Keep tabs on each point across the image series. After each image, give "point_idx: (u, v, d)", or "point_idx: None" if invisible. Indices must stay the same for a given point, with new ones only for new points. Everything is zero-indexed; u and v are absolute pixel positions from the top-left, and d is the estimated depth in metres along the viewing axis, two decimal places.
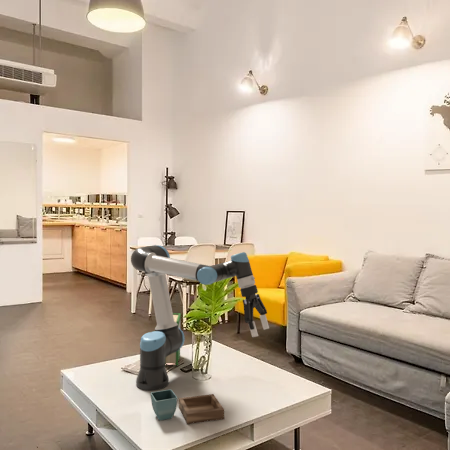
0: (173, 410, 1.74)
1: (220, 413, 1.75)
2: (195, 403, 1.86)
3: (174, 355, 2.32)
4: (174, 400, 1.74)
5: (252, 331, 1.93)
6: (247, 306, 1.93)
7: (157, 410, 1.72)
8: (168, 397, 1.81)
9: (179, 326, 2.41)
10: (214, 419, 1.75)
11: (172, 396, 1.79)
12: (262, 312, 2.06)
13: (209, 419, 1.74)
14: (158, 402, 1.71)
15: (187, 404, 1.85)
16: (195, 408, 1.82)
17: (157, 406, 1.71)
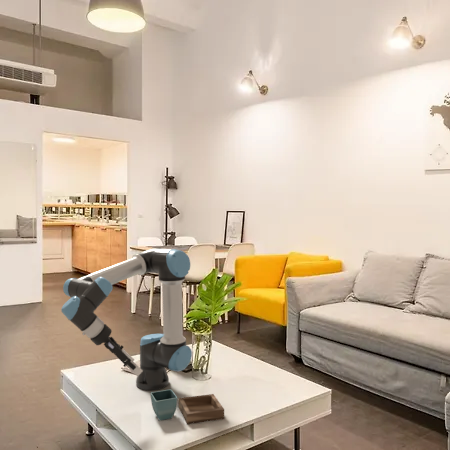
0: (173, 410, 1.74)
1: (220, 413, 1.75)
2: (195, 403, 1.86)
3: None
4: (174, 400, 1.74)
5: None
6: None
7: (157, 410, 1.72)
8: (168, 397, 1.81)
9: None
10: (214, 419, 1.75)
11: (172, 396, 1.79)
12: None
13: (209, 419, 1.74)
14: (158, 402, 1.71)
15: (187, 404, 1.85)
16: (195, 408, 1.82)
17: (157, 406, 1.71)
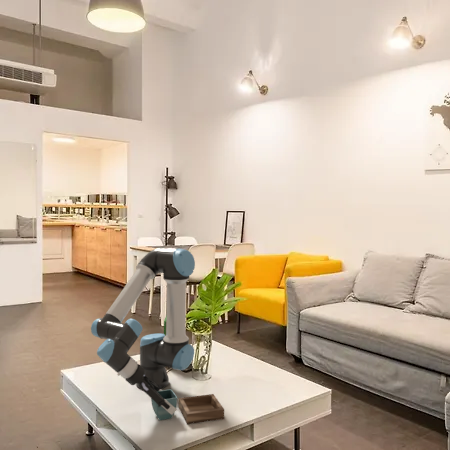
0: None
1: (220, 413, 1.75)
2: (195, 403, 1.86)
3: None
4: (174, 400, 1.74)
5: None
6: None
7: (157, 410, 1.72)
8: (168, 397, 1.81)
9: None
10: (214, 419, 1.75)
11: (172, 396, 1.79)
12: None
13: (209, 419, 1.74)
14: None
15: (187, 404, 1.85)
16: (195, 408, 1.82)
17: (157, 406, 1.71)
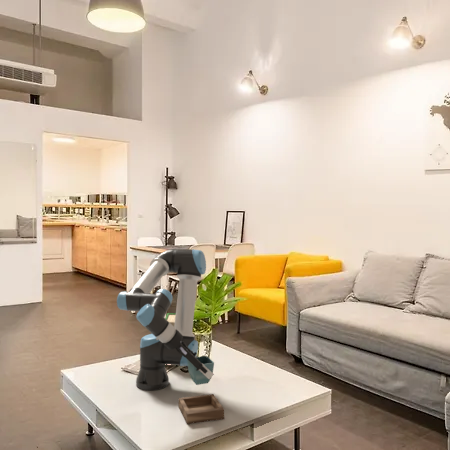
0: None
1: (220, 413, 1.75)
2: (195, 403, 1.86)
3: None
4: (211, 365, 1.77)
5: None
6: None
7: (195, 374, 1.75)
8: (204, 363, 1.84)
9: None
10: (214, 419, 1.75)
11: (208, 362, 1.82)
12: None
13: (209, 419, 1.74)
14: None
15: (187, 404, 1.85)
16: (195, 408, 1.82)
17: (195, 370, 1.74)
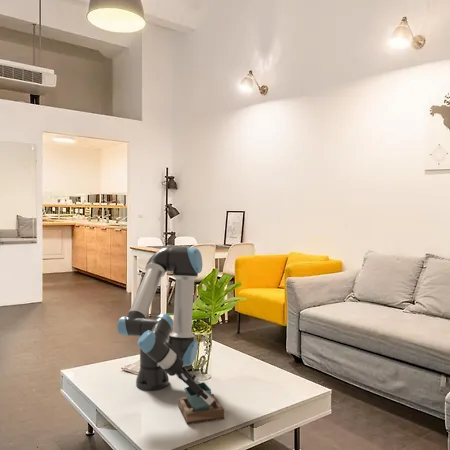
0: None
1: (220, 413, 1.75)
2: None
3: None
4: (208, 393, 1.77)
5: None
6: None
7: (193, 404, 1.75)
8: None
9: None
10: (214, 419, 1.75)
11: (206, 389, 1.82)
12: None
13: (209, 419, 1.74)
14: (193, 397, 1.74)
15: (187, 404, 1.85)
16: None
17: (193, 401, 1.75)
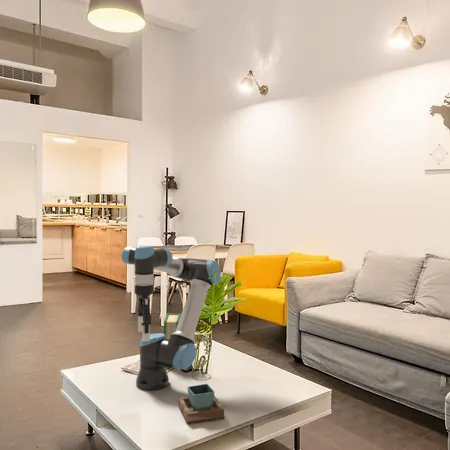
0: (210, 404, 1.78)
1: (220, 413, 1.75)
2: None
3: None
4: (211, 394, 1.77)
5: None
6: None
7: (195, 404, 1.75)
8: (204, 391, 1.85)
9: None
10: (214, 419, 1.75)
11: (209, 390, 1.82)
12: None
13: (209, 419, 1.74)
14: (196, 396, 1.75)
15: (187, 404, 1.85)
16: None
17: (195, 400, 1.75)
